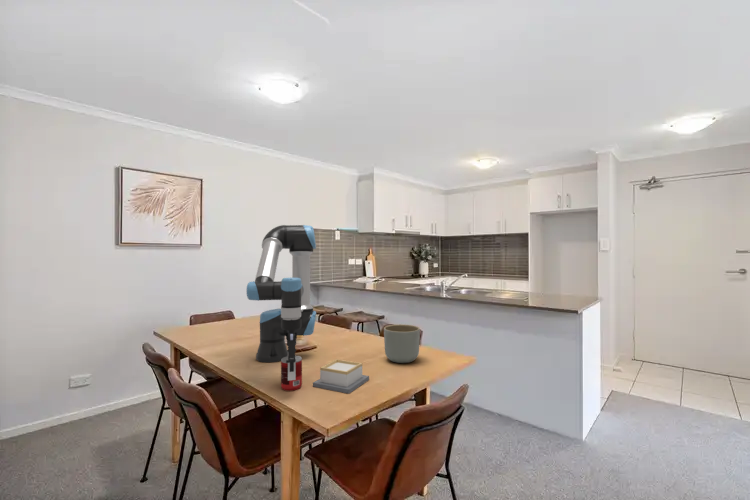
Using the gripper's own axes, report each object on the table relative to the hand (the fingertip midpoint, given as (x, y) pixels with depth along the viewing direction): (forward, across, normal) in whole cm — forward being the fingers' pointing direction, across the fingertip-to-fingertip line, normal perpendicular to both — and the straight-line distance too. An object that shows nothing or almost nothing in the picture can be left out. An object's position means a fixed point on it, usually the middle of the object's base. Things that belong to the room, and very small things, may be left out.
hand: (291, 374), depth 139 cm
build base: (+5, 0, -19) cm, 20 cm away
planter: (+5, +23, -51) cm, 56 cm away
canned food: (+5, 0, 0) cm, 5 cm away
